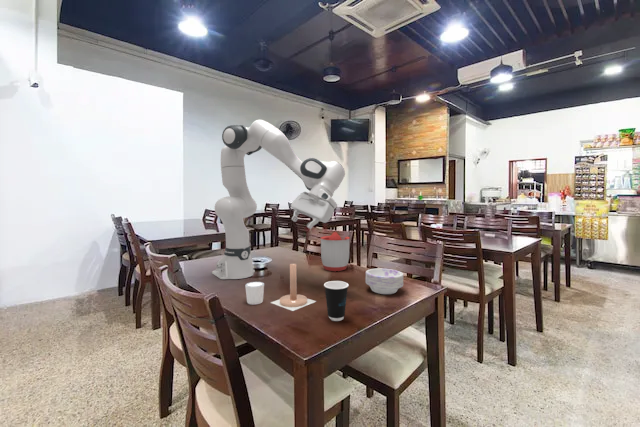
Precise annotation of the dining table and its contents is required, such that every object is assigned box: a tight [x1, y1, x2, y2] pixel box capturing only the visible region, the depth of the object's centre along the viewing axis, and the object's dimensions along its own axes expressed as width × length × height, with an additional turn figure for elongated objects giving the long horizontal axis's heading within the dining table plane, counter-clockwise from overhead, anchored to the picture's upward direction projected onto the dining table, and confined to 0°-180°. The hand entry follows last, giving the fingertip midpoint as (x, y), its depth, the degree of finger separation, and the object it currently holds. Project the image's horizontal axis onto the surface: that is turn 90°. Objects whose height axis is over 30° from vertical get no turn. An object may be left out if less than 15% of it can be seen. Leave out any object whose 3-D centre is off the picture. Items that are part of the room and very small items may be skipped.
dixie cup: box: [323, 280, 350, 322], centre depth 95 cm, size 8×8×11 cm
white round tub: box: [244, 281, 265, 306], centre depth 109 cm, size 7×7×7 cm
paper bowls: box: [365, 267, 404, 295], centre depth 122 cm, size 15×15×8 cm
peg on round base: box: [279, 263, 308, 307], centre depth 109 cm, size 10×10×14 cm
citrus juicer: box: [320, 231, 350, 272], centre depth 159 cm, size 16×17×20 cm
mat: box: [270, 298, 317, 312], centre depth 109 cm, size 12×12×1 cm
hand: (300, 224), depth 119 cm, fingers open, 8 cm apart
